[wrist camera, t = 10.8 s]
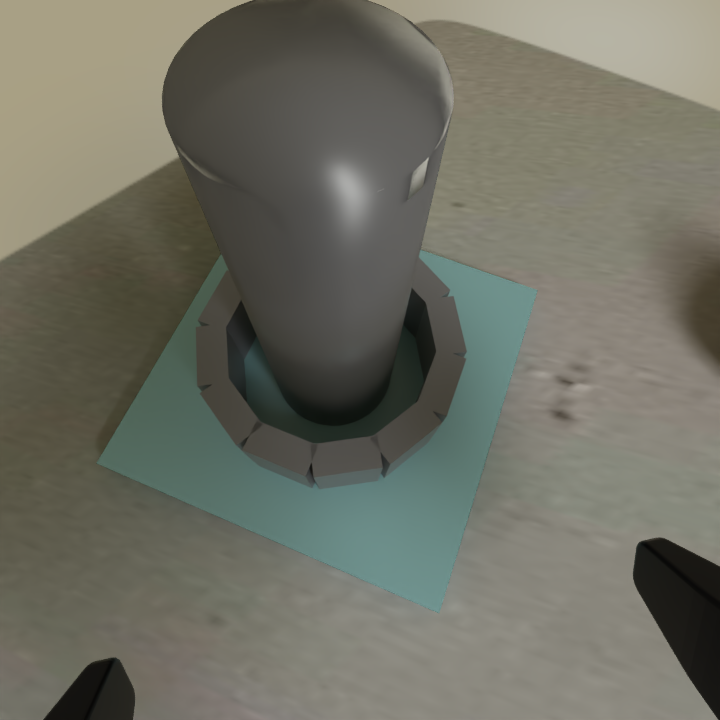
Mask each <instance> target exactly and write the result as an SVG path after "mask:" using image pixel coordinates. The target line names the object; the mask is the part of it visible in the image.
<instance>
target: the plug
mask: <svg viewBox="0 0 720 720" xmlns="http://www.w3.org/2000/svg"><path fill="white" fill-rule="evenodd" d="M453 101H454V90H453V84H452V78H451V75H450V72H449V69H448V66H447V64H446V62H445V60H444V58H443V56H442V54H441V52H440V51H439V50H438V48H437V47H436V46H435V44H434V43H433V41H432V40H431V39H430V38H429V37H428V36H427V35H426V34H425V33H424V32H423V31H422V30H421V29H419V28H418V27H417V26H416V25H414V24H413V23H412V22H411V21H409V20H407V19H406V18H404V17H403V16H401V15H400V14H398V13H396V12H394V11H392V10H390V9H388V8H386V7H384V6H381V5H379V4H376V3H373V2H371V1H368V0H253V1H249V2H247V3H244V4H241V5H239V6H236V7H234V8H232V9H230V10H228V11H226V12H224V13H222V14H220V15H218V16H217V17H215V18H213V19H212V20H210V21H209V22H207V23H206V24H205V25H203V26H202V27H201V28H200V29H198V30H197V31H196V32H195V33H194V34H193V35H192V36H191V37H190V38H189V39H188V40H187V41H186V42H185V43H184V44H183V46H182V47H181V48H180V50H179V51H178V53H177V54H176V55H175V57H174V59H173V61H172V63H171V65H170V67H169V69H168V72H167V75H166V78H165V81H164V86H163V93H162V108H163V115H164V119H165V124H166V127H167V129H168V131H169V134H170V136H171V138H172V141H173V143H174V145H175V147H176V150H177V152H178V155H179V157H180V159H181V162H182V164H183V166H184V168H185V171H186V173H187V175H188V178H189V180H190V182H191V185H192V187H193V189H194V192H195V194H196V196H197V199H198V201H199V203H200V205H201V208H202V210H203V212H204V215H205V217H206V219H207V222H208V224H209V226H210V229H211V231H212V233H213V236H214V238H215V240H216V242H217V245H218V247H219V249H220V252H221V254H222V256H223V259H224V261H225V263H226V266H227V268H228V270H229V273H230V275H231V277H232V279H233V282H234V284H235V286H236V289H237V291H238V293H239V296H240V298H241V300H242V303H243V305H244V307H245V310H246V312H247V314H248V316H249V319H250V321H251V323H252V326H253V328H254V330H255V333H256V335H257V337H258V340H259V342H260V344H261V347H262V349H263V351H264V353H265V356H266V358H267V360H268V363H269V365H270V367H271V370H272V372H273V374H274V377H275V379H276V381H277V384H278V386H279V388H280V390H281V393H282V395H283V397H284V399H285V400H286V402H287V403H288V405H289V406H290V407H291V408H292V409H293V410H294V411H295V412H296V413H297V414H299V415H300V416H302V417H303V418H305V419H307V420H309V421H311V422H314V423H317V424H321V425H329V426H340V425H346V424H350V423H353V422H356V421H358V420H360V419H362V418H364V417H365V416H367V415H368V414H370V413H371V412H372V411H373V410H374V409H375V408H376V407H377V406H378V405H379V404H380V402H381V401H382V400H383V398H384V396H385V394H386V392H387V390H388V387H389V383H390V379H391V374H392V370H393V366H394V362H395V357H396V353H397V349H398V344H399V340H400V336H401V331H402V327H403V323H404V318H405V314H406V310H407V305H408V301H409V297H410V292H411V288H412V284H413V280H414V275H415V271H416V267H417V262H418V258H419V254H420V249H421V245H422V241H423V236H424V232H425V228H426V223H427V219H428V215H429V210H430V206H431V202H432V198H433V193H434V189H435V185H436V180H437V176H438V172H439V167H440V163H441V159H442V154H443V150H444V146H445V141H446V137H447V133H448V128H449V124H450V120H451V115H452V110H453Z"/></svg>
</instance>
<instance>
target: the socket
mask: <svg viewBox="0 0 720 720" xmlns="http://www.w3.org/2000/svg"><path fill="white" fill-rule="evenodd" d="M537 291H538V290H536V289H533V288H530V287H527V286H524V285H521V284H518V283H515V282H512V281H510V280H507V279H504V278H501V277H498V276H495V275H492V274H489V273H486V272H483V271H481V270H478V269H475V268H472V267H469V266H466V265H463V264H460V263H457V262H454V261H452V260H449V259H446V258H443V257H440V256H437V255H434V254H431V253H428V252H425V251H423V250H420V254H419V258H418V262H417V267H416V271H415V275H414V280H413V284H412V288H411V292H410V297H409V301H408V305H407V310H406V314H405V318H404V323H403V327H402V331H401V336H400V340H399V344H398V349H397V353H396V357H395V362H394V366H393V370H392V374H391V379H390V383H389V387H388V390H387V392H386V394H385V396H384V398H383V400H382V401H381V402H380V404H379V405H378V406H377V407H376V408H375V409H374V410H373V411H372V412H371V413H370V414H368V415H367V416H365V417H364V418H362V419H360V420H358V421H356V422H353V423H350V424H346V425H340V426H329V425H321V424H317V423H314V422H311V421H309V420H307V419H305V418H303V417H302V416H300V415H299V414H297V413H296V412H295V411H294V410H293V409H292V408H291V407H290V406H289V405H288V403H287V402H286V400H285V399H284V397H283V395H282V393H281V390H280V388H279V386H278V384H277V381H276V379H275V377H274V374H273V372H272V370H271V367H270V365H269V363H268V360H267V358H266V356H265V353H264V351H263V349H262V347H261V344H260V342H259V340H258V337H257V335H256V333H255V330H254V328H253V326H252V323H251V321H250V319H249V316H248V314H247V312H246V310H245V307H244V305H243V303H242V300H241V298H240V296H239V293H238V291H237V289H236V286H235V284H234V282H233V279H232V277H231V275H230V273H229V270H228V268H227V266H226V263H225V261H224V259H223V256H222V254H221V255H220V256H219V258H218V260H217V261H216V263H215V265H214V266H213V268H212V270H211V271H210V273H209V275H208V276H207V278H206V280H205V281H204V283H203V285H202V286H201V288H200V290H199V292H198V293H197V295H196V297H195V298H194V300H193V302H192V303H191V305H190V307H189V308H188V310H187V312H186V313H185V315H184V317H183V318H182V320H181V322H180V324H179V325H178V327H177V329H176V330H175V332H174V334H173V335H172V337H171V339H170V340H169V342H168V344H167V345H166V347H165V349H164V350H163V352H162V354H161V355H160V357H159V359H158V361H157V362H156V364H155V366H154V367H153V369H152V371H151V372H150V374H149V376H148V377H147V379H146V381H145V382H144V384H143V386H142V387H141V389H140V391H139V392H138V394H137V396H136V398H135V399H134V401H133V403H132V404H131V406H130V408H129V409H128V411H127V413H126V414H125V416H124V418H123V419H122V421H121V423H120V424H119V426H118V428H117V430H116V431H115V433H114V435H113V436H112V438H111V440H110V441H109V443H108V445H107V446H106V448H105V450H104V451H103V453H102V455H101V456H100V458H99V460H98V461H97V463H96V464H99V465H101V466H103V467H106V468H108V469H110V470H112V471H115V472H117V473H119V474H122V475H124V476H126V477H128V478H131V479H133V480H135V481H138V482H140V483H142V484H144V485H147V486H149V487H151V488H154V489H156V490H158V491H161V492H163V493H165V494H167V495H170V496H172V497H174V498H177V499H179V500H181V501H183V502H186V503H188V504H190V505H193V506H195V507H197V508H199V509H202V510H204V511H206V512H209V513H211V514H213V515H215V516H218V517H220V518H222V519H225V520H227V521H229V522H231V523H234V524H236V525H238V526H241V527H243V528H245V529H247V530H250V531H252V532H254V533H257V534H259V535H261V536H263V537H266V538H268V539H270V540H273V541H275V542H277V543H279V544H282V545H284V546H286V547H289V548H291V549H293V550H295V551H298V552H300V553H302V554H305V555H307V556H309V557H311V558H314V559H316V560H318V561H321V562H323V563H325V564H327V565H330V566H332V567H334V568H337V569H339V570H341V571H343V572H346V573H348V574H350V575H353V576H355V577H357V578H359V579H362V580H364V581H366V582H369V583H371V584H373V585H375V586H378V587H380V588H382V589H385V590H387V591H389V592H391V593H394V594H396V595H398V596H401V597H403V598H405V599H407V600H410V601H412V602H414V603H417V604H419V605H421V606H423V607H426V608H428V609H430V610H433V611H435V612H437V613H439V612H440V609H441V606H442V602H443V599H444V596H445V592H446V589H447V586H448V583H449V579H450V576H451V573H452V569H453V566H454V563H455V560H456V556H457V553H458V550H459V546H460V543H461V540H462V537H463V533H464V530H465V527H466V524H467V520H468V517H469V514H470V510H471V507H472V504H473V501H474V497H475V494H476V491H477V487H478V484H479V481H480V478H481V474H482V471H483V468H484V464H485V461H486V458H487V455H488V451H489V448H490V445H491V442H492V438H493V435H494V432H495V428H496V425H497V422H498V419H499V415H500V412H501V409H502V405H503V402H504V399H505V396H506V392H507V389H508V386H509V382H510V379H511V376H512V373H513V369H514V366H515V363H516V360H517V356H518V353H519V350H520V346H521V343H522V340H523V337H524V333H525V330H526V327H527V323H528V320H529V317H530V314H531V310H532V307H533V304H534V300H535V297H536V294H537Z"/></svg>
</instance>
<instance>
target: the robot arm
mask: <svg viewBox="0 0 720 720" xmlns="http://www.w3.org/2000/svg"><path fill="white" fill-rule="evenodd" d="M633 580H634V583H635V586H636V588H637V590H638V592H639V594H640V595H641V597H642V599H643V600H644V602H645V604H646V606H647V607H648V609H649V611H650V612H651V614H652V616H653V618H654V619H655V621H656V623H657V624H658V626H659V628H660V630H661V631H662V633H663V635H664V636H665V638H666V640H667V642H668V643H669V645H670V647H671V649H672V650H673V652H674V654H675V655H676V657H677V659H678V661H679V662H680V664H681V665H682V667H683V669H684V670H685V672H686V674H687V675H688V677H689V678H690V680H691V681H692V683H693V684H694V686H695V687H696V689H697V690H698V692H699V693H700V694H701V696H702V697H703V699H704V700H705V702H706V703H707V704H708V706H709V707H710V709H711V710H712V711H713V713H714V714H715V716H716V717H717V719H718V720H720V566H718V565H716V564H714V563H712V562H710V561H708V560H706V559H704V558H702V557H700V556H698V555H696V554H695V553H693V552H691V551H689V550H687V549H685V548H683V547H681V546H679V545H677V544H675V543H673V542H671V541H669V540H667V539H664V538H653V539H648V540H644V541H641V542H639V543H638V545H637V547H636V554H635V562H634V569H633ZM134 707H135V693H134V689H133V686H132V684H131V682H130V680H129V678H128V676H127V674H126V672H125V669H124V667H123V665H122V663H121V662H120V660H119V659H117V658H108V659H104V660H99V661H95V662H92V663H91V664H89V665H88V666H87V667H86V668H85V669H84V670H83V671H82V673H81V674H80V675H79V676H78V678H77V679H76V680H75V681H74V682H73V684H72V685H71V686H70V687H69V689H68V690H67V691H66V692H65V694H64V695H63V696H62V697H61V698H60V700H59V701H58V702H57V703H56V705H55V706H54V707H53V708H52V710H51V711H50V712H49V713H48V715H47V716H46V717H45V718H44V719H43V720H133V715H134Z"/></svg>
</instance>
